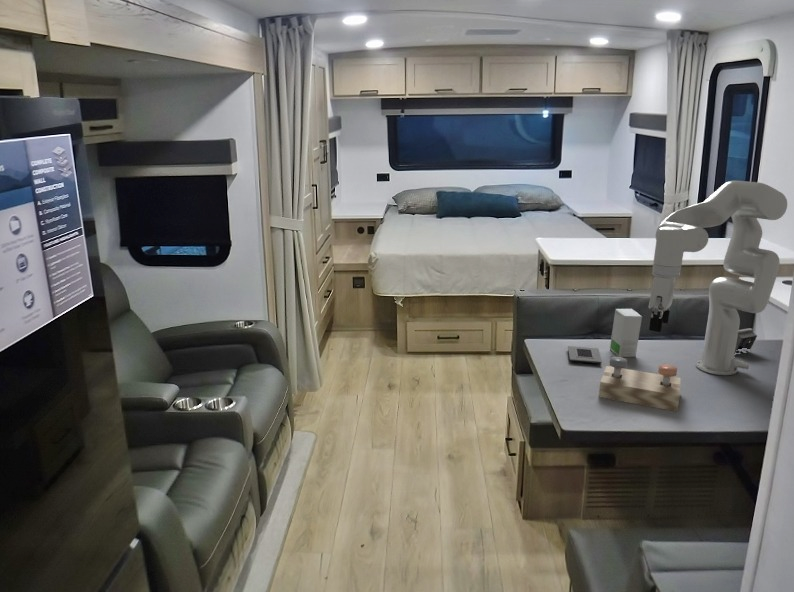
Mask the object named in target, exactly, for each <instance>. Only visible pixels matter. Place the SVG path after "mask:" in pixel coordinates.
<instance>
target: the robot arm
mask: <svg viewBox="0 0 794 592" xmlns="http://www.w3.org/2000/svg"><path fill="white" fill-rule="evenodd" d="M787 199H788V198H787V197H786V196H785V195H784V194H783V192H781V191H779V190H778V189H776V188H774V187H772V186H770V185H768V184H766V183H763V182H757V181H745V180H729V181H726V182H725V183H723V184H722V185H721V186H720V187H718V189H716V190H715V191H714V192H713V193H712V194H711V195H710V196H709V197H708V198H706V199H705V200H704V201H703V202H699V203H696V204H692V205H689V206H686V207H684V208H680V209H677V210H675V211H674V212H672V213H671V214H670V215H668V216H667V217H666V218H665V219H664V220H662V221H661V223H660V224H659V226H658V227H657V228H656V231H655V247H654V256H653V264H652V272H651V274H652V276H654V277H653V281H652V286H651V291H650V296H649V302H648V308H649V310H651V309H652V312H651V315H650V318H649V319H650V321H649V327H648V329H649V331H651V332H656V333H661V332H662V327H663V324H668V323H669V319H670V312H671V310H670V308H671V306H672V303H673V298H674V294H675V287H676V286H675V285H676V279H679V278H680V277H681V271H682V264H683V259H684V258H683V257H684V253H697V252H700V251H702V250H703V249H704V248H706V246H707V245H708V242H709V234H708V232H707V230H706V229H705V228H712V227H716V226H720V225H723V224H724V223H725V222H726V221H728V220H729V219H730V218H731V221H732V234H731V237H730V240H729V242H728V243H729V244H728V245H727V250H726V253H725V255H724V259H723V269H724V270H725V271H726V272H728V273H730V274H733V275H738V276H742V277H747V278H752V279H754V281H750V280H749V281H748V280H743V279H740V278H735V277H730V276H719V277H716V278H714V279H713V280H712V282H710V284H709V289H708V298H709V299H708V300H709V301H708V303H709V304H708V305H709V308H708V316H707V323H706V328H705V337H704V340H703V347H702V353H701V354H702V356H701V358H700V359H697V360H696V362H695V366H696V368H698V369H699V370H701V371H702V372H704V373H708V374H712V375H717V376H732V375H735V374H737V371H738V369H743V370H744V369H745V370H749V367H750V364H749V363H746V362H745V361H744V360H738V359H736V358H735V357H736V355H734V354H735V348H736V342H737V337H738V331H739V330H740V324H741V320H740V319H741V318H740V315H739V312H738V311H742V312H746V313H751V314H760V313H762V312H763V311H765V309H766V307H767V306H768V303H769V301H770V298H771V294H772V292H773V289H774V286H775V283H776V279H777V278H778V277H777V276H778V273H779V269H780V266H781V265H780V257H779V255H778V254H777V252H775V251H773V250H770V249H764V248H761V247H760V244H761V241H762V237H763V230H762V226H761V224H760V222H759V220H760V219H762V220H768V221H776V220H779V219H781V218H782V217H784V215H785V213H786V211H787V210H788V200H787ZM758 219H759V220H758Z"/></svg>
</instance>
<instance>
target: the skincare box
mask: <svg viewBox="0 0 794 592" xmlns="http://www.w3.org/2000/svg"><path fill="white" fill-rule="evenodd" d="M642 319H643V315H640V314H639V313H638V312H637V311H636V310H634V309H633V308H615V311H614V317H613V324H612V332H611V337H610V343H609V344H610V346H609V350H611V351H612V353H613V354H615V356H616V357H622V358H636V356H637V352H638V343H639V337H640V331H641V327H642V326H641V325H642Z"/></svg>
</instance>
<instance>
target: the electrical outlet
mask: <svg viewBox="0 0 794 592" xmlns="http://www.w3.org/2000/svg"><path fill="white" fill-rule="evenodd" d="M567 350H568V355H569V361H570V362H577V363H588V364H599V365H600V364H602V363H603V361H602V357H601V353H600V350H599V348H597V347H587V346H585V347H584V346H572V345H571V346H570V345H567Z"/></svg>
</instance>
